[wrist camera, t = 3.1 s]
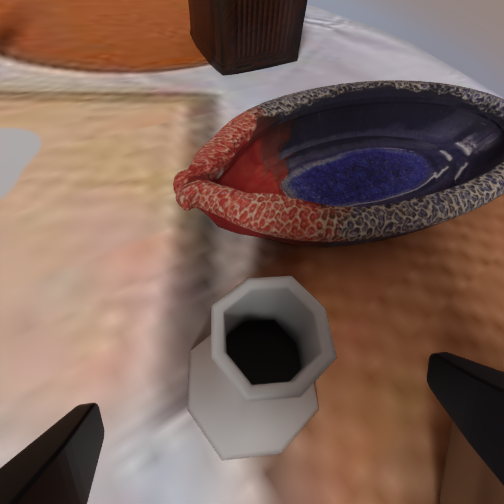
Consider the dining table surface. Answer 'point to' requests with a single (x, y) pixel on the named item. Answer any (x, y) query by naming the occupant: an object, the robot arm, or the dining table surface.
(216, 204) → the dish
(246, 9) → the brown potted plant
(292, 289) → the flask
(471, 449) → the walnut block
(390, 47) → the dining table surface
